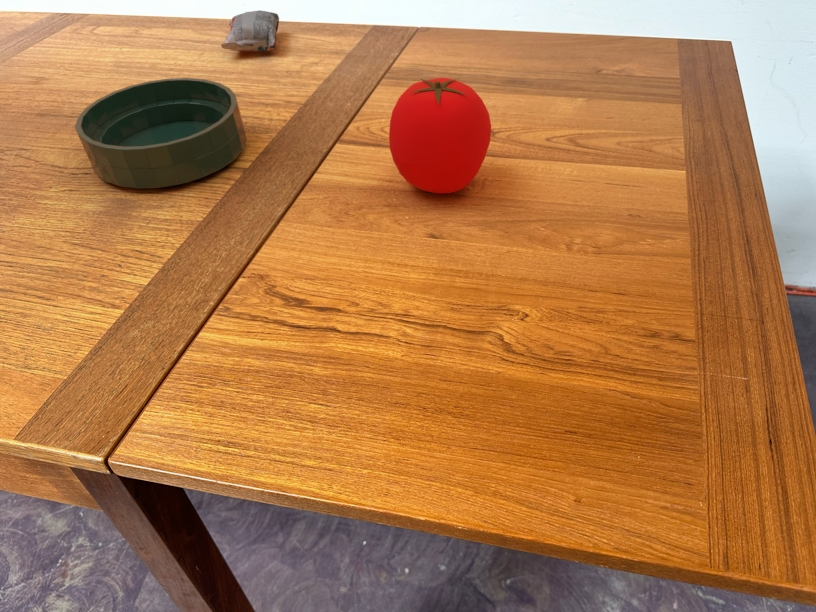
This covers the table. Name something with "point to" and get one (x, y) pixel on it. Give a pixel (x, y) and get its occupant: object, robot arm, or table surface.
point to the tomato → (439, 135)
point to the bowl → (162, 132)
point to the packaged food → (252, 31)
